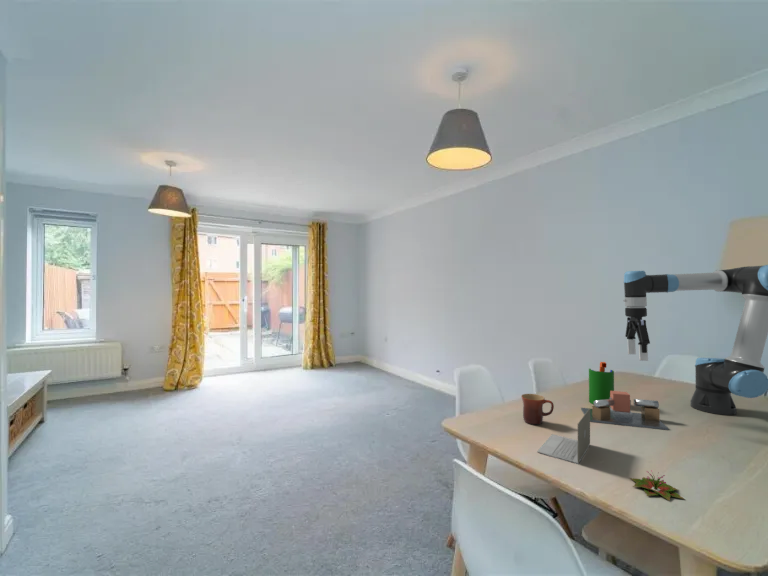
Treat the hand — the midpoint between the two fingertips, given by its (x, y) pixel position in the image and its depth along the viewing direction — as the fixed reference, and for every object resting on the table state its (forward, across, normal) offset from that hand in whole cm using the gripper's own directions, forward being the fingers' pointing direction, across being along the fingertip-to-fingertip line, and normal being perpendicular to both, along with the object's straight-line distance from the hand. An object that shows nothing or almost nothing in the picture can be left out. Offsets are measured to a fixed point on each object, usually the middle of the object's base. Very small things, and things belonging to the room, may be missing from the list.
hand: (637, 357), depth 151 cm
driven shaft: (+24, +8, -15) cm, 29 cm away
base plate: (+25, +6, -8) cm, 27 cm away
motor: (+25, -14, -11) cm, 30 cm away
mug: (+24, +21, -42) cm, 53 cm away
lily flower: (+25, +62, -16) cm, 69 cm away
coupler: (+22, +3, -8) cm, 23 cm away
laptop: (+24, +43, -36) cm, 61 cm away
